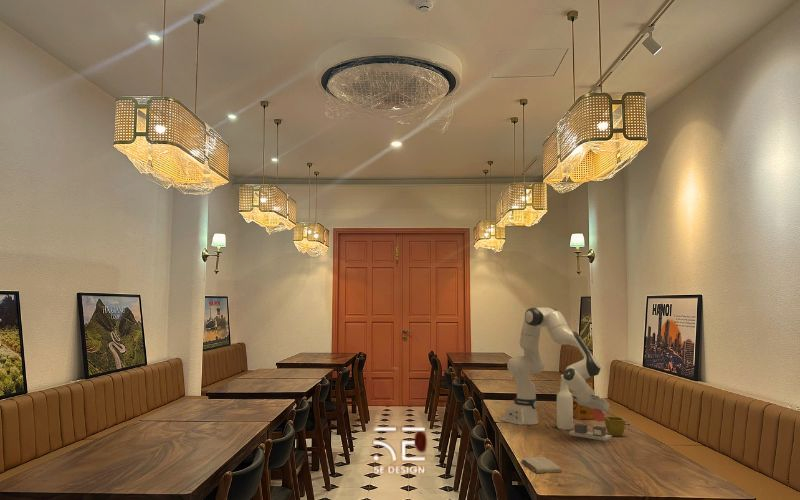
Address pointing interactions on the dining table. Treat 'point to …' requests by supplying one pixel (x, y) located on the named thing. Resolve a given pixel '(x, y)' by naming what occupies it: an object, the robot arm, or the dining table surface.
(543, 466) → the washcloth
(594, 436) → the grey cubes on base
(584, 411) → the coffee package
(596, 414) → the tall red square pillar
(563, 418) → the alcohol
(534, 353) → the robot arm
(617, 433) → the flower pot
